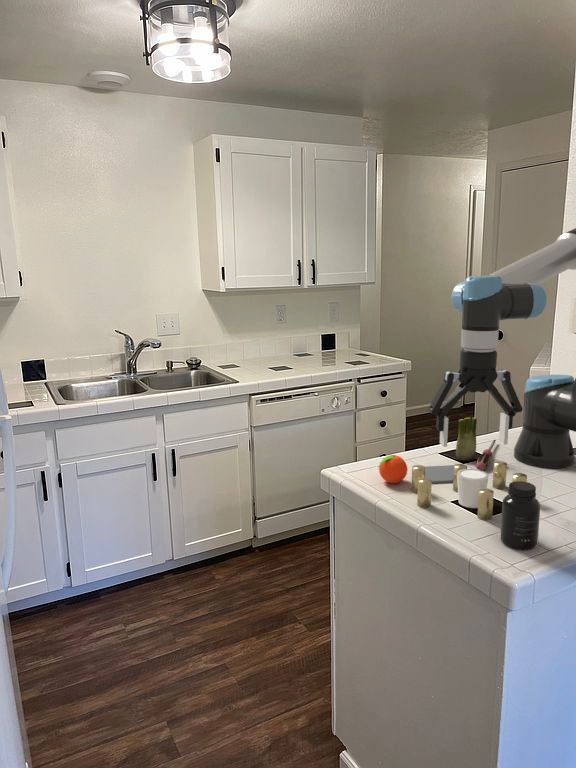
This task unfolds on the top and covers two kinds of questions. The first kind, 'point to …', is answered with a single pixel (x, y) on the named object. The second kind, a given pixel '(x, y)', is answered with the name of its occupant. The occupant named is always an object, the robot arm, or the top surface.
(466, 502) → the white cup
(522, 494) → the supplement bottle
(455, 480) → the spacer field
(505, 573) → the top surface
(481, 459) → the screwdriver
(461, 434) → the fennel bulb
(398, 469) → the clementine
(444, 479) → the slate mat
